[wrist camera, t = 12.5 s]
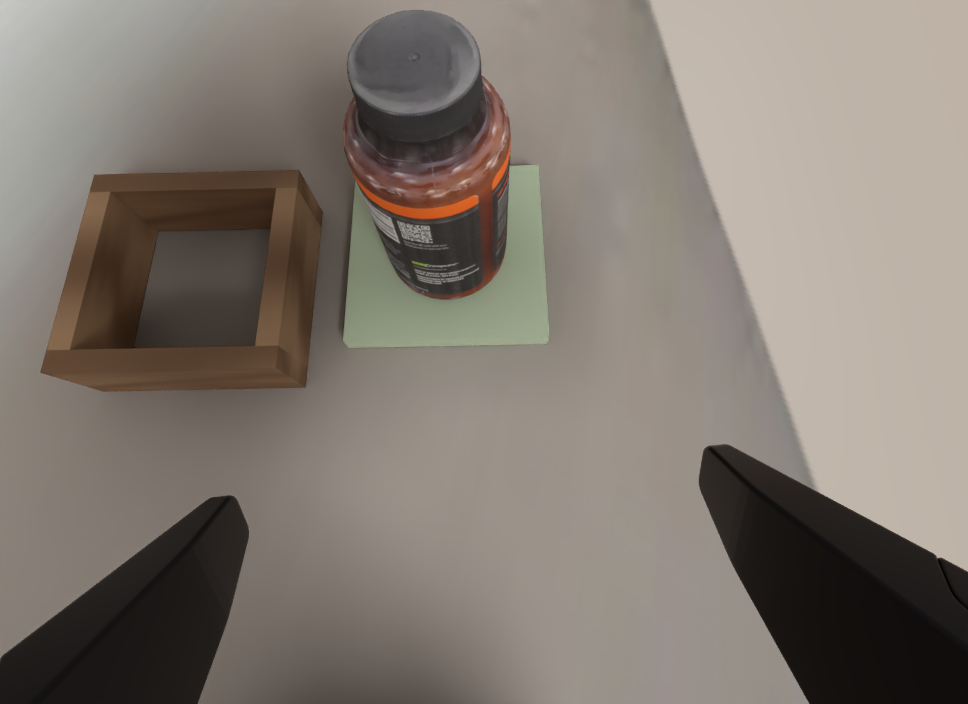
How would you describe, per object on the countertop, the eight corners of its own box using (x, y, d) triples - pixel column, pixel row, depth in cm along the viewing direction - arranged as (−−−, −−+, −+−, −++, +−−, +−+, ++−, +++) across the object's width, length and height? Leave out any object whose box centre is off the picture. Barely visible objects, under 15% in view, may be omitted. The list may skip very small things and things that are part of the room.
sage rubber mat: (546, 343, 24) (549, 337, 23) (348, 347, 24) (343, 341, 23) (536, 177, 27) (538, 165, 26) (360, 180, 27) (356, 169, 26)
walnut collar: (305, 387, 24) (275, 368, 20) (103, 391, 24) (40, 372, 20) (322, 212, 27) (298, 170, 23) (143, 216, 27) (94, 174, 23)
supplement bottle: (484, 188, 26) (480, -38, 15) (522, 283, 24) (549, 105, 13) (376, 220, 25) (293, 10, 15) (408, 320, 24) (340, 165, 13)
